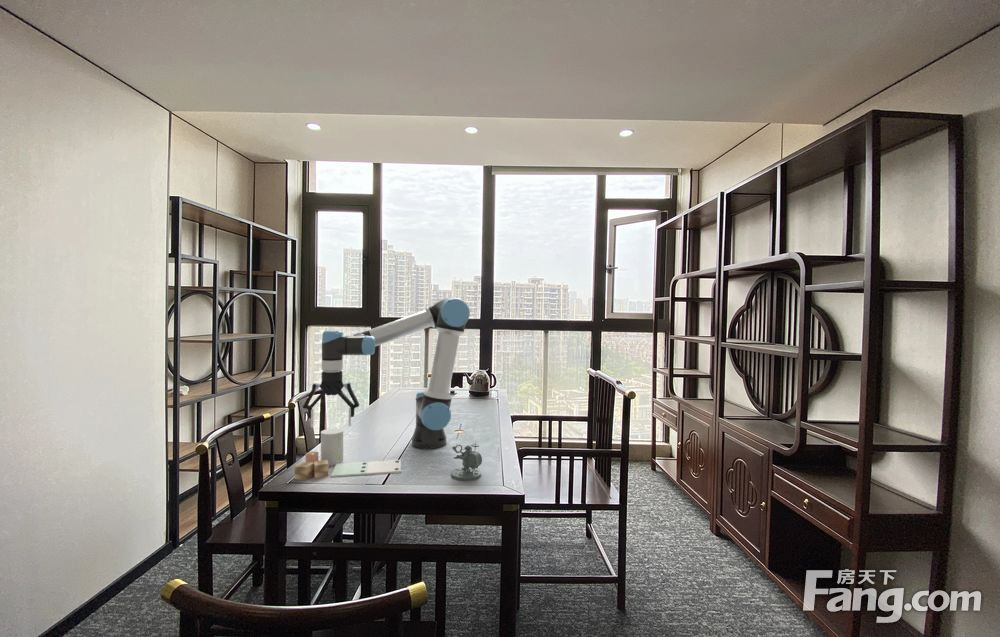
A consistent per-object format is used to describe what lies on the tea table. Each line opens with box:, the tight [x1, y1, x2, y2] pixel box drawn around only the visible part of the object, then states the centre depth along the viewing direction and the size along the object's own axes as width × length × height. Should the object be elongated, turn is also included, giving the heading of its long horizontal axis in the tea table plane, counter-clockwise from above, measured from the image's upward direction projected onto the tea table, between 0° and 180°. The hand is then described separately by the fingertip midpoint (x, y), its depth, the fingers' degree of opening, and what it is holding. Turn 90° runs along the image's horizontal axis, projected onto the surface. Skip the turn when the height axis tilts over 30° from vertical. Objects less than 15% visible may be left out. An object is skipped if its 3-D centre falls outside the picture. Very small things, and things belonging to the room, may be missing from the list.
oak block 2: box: [313, 459, 329, 479], centre depth 161 cm, size 4×4×4 cm
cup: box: [320, 427, 344, 467], centre depth 174 cm, size 8×8×12 cm
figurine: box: [451, 442, 483, 482], centre depth 161 cm, size 11×11×12 cm
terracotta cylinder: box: [304, 451, 319, 463], centre depth 166 cm, size 4×4×6 cm
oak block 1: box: [294, 461, 314, 481], centre depth 158 cm, size 4×4×4 cm
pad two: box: [366, 459, 402, 476], centre depth 168 cm, size 12×12×1 cm
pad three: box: [330, 461, 370, 478], centre depth 166 cm, size 12×12×1 cm
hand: (331, 425), depth 173 cm, fingers open, 13 cm apart
